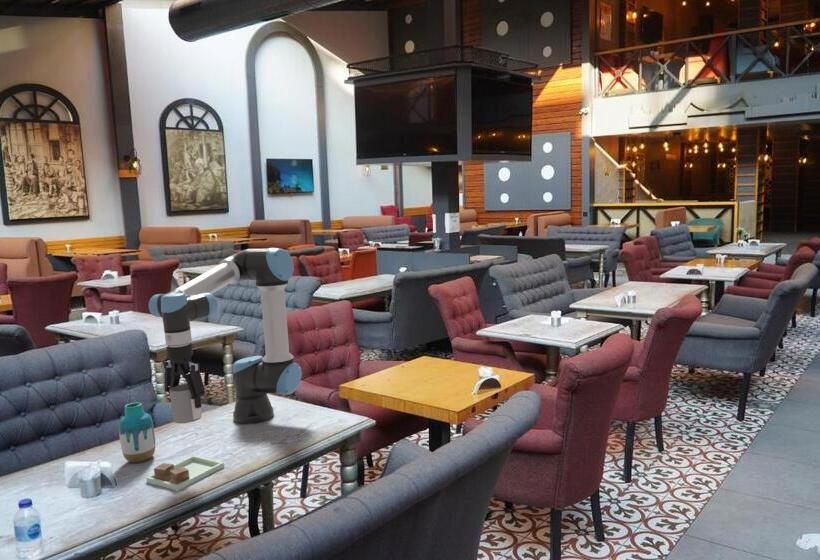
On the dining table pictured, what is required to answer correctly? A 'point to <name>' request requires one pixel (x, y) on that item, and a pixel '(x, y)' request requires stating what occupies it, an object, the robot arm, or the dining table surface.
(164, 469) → the block
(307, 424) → the dining table surface
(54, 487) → the dining table surface
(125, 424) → the vase
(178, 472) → the block
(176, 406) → the cup
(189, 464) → the tray
